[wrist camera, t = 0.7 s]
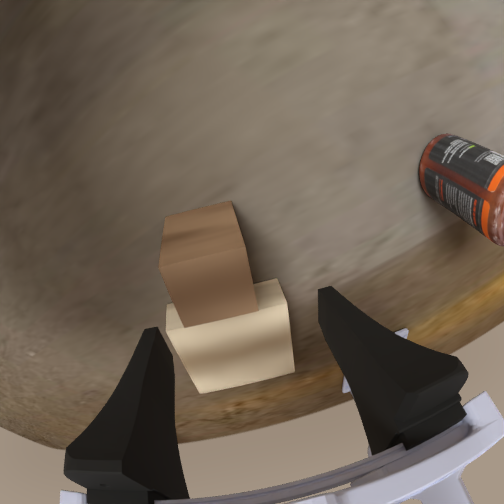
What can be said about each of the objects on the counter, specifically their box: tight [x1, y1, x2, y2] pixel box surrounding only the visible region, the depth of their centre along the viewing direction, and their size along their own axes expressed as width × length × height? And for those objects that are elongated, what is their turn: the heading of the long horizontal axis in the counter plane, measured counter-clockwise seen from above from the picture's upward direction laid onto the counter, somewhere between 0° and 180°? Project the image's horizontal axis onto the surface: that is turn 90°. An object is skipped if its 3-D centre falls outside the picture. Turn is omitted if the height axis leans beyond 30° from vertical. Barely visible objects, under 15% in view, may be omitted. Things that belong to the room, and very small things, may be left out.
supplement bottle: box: [419, 134, 504, 246], centre depth 17 cm, size 6×6×11 cm
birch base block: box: [166, 278, 295, 394], centre depth 25 cm, size 9×9×3 cm
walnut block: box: [158, 201, 259, 328], centre depth 19 cm, size 4×4×6 cm
